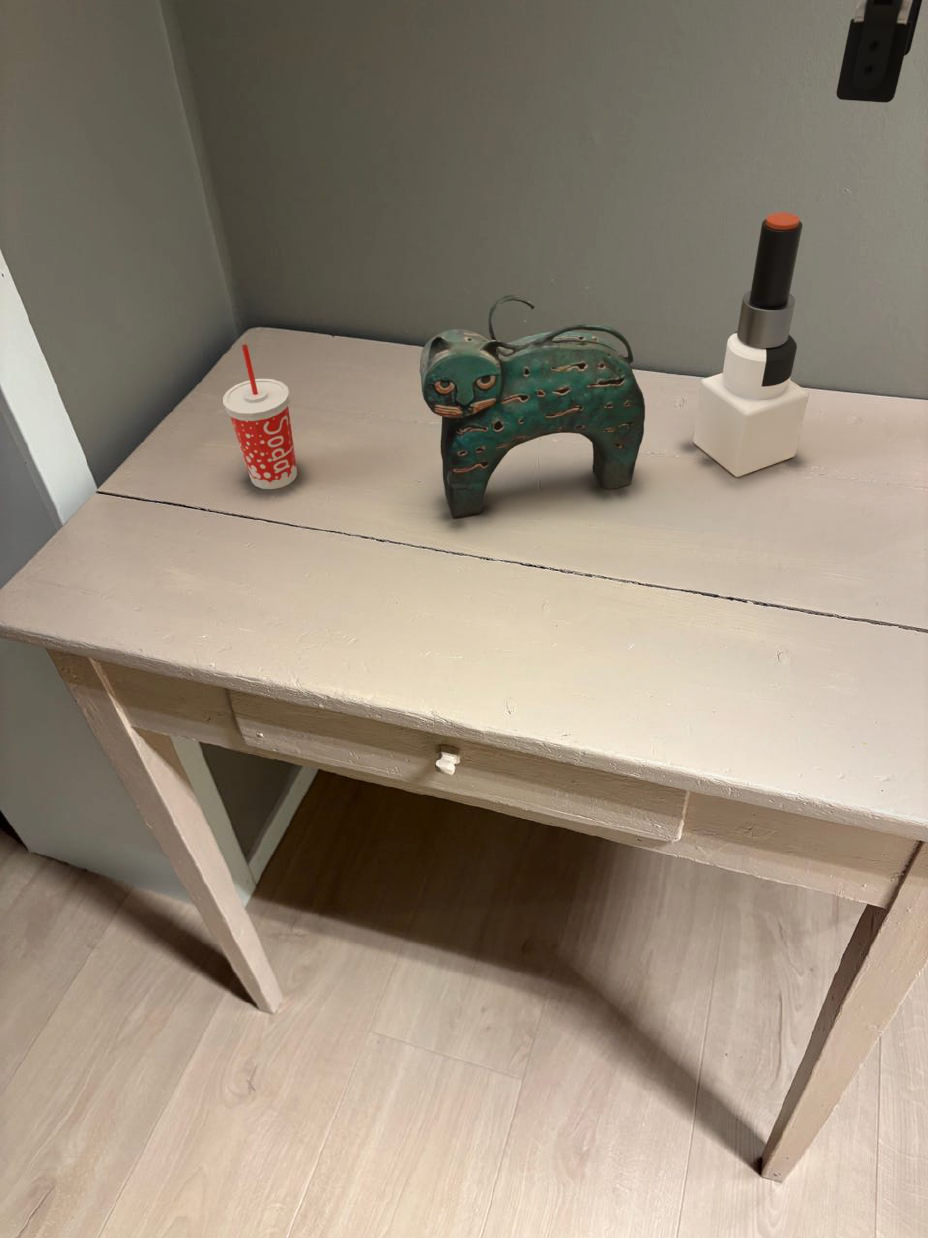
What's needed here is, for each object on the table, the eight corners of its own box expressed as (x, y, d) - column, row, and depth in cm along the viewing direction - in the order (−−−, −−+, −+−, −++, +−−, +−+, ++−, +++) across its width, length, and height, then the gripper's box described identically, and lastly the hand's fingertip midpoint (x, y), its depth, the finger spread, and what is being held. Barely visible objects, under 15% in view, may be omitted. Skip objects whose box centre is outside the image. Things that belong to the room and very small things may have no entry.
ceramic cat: (436, 529, 87) (418, 325, 73) (424, 488, 92) (404, 288, 78) (645, 493, 89) (665, 288, 76) (623, 455, 94) (638, 255, 80)
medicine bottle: (749, 422, 97) (769, 310, 89) (796, 457, 92) (822, 342, 84) (691, 442, 95) (705, 330, 87) (736, 479, 90) (756, 364, 82)
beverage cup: (252, 500, 92) (218, 369, 82) (236, 468, 96) (202, 339, 86) (313, 482, 93) (287, 352, 84) (294, 451, 97) (268, 323, 88)
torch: (791, 328, 86) (815, 210, 79) (783, 351, 83) (806, 232, 76) (742, 321, 87) (760, 205, 80) (732, 344, 85) (750, 226, 77)
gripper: (1043, -312, 40) (927, 125, 52) (1043, -320, 52) (948, 41, 64) (857, -300, 43) (787, 115, 55) (896, -311, 54) (831, 36, 66)
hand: (873, 75), depth 59 cm, fingers open, 9 cm apart
